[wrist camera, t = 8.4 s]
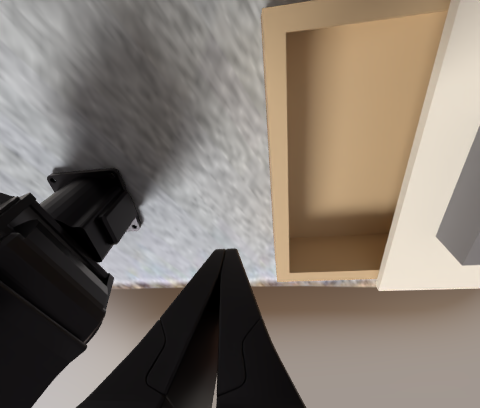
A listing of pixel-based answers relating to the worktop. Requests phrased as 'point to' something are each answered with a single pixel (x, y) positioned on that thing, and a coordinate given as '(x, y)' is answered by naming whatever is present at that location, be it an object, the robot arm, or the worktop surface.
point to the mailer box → (342, 126)
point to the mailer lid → (442, 172)
